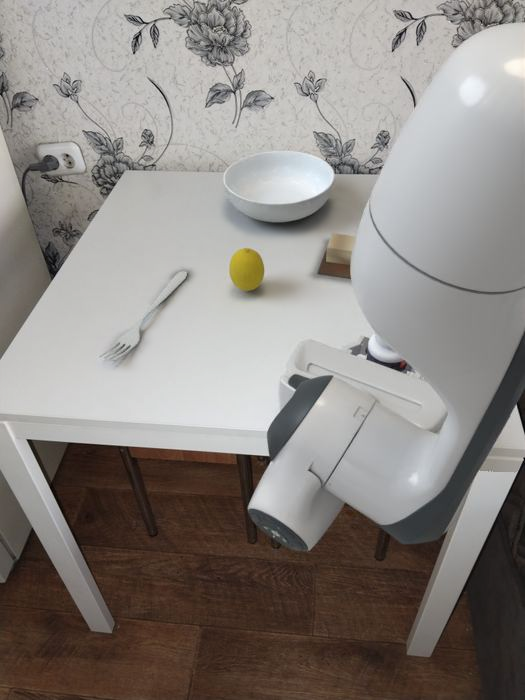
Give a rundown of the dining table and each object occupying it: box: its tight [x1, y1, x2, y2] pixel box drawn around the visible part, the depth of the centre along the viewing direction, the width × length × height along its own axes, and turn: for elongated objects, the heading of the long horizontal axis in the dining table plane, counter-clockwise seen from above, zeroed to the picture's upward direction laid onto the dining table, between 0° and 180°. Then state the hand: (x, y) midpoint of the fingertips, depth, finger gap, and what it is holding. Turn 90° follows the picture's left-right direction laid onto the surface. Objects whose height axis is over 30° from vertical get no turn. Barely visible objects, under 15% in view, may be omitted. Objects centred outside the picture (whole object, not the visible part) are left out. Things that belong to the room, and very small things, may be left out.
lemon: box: [229, 247, 265, 291], centre depth 93 cm, size 6×6×8 cm
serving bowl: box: [222, 150, 336, 223], centre depth 112 cm, size 21×21×7 cm
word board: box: [317, 232, 356, 280], centre depth 99 cm, size 20×10×4 cm, turn 73°
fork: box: [98, 270, 188, 363], centre depth 92 cm, size 3×24×2 cm, turn 158°
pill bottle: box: [365, 331, 408, 375], centre depth 76 cm, size 5×5×10 cm
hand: (390, 349), depth 76 cm, fingers closed on pill bottle, 5 cm apart
